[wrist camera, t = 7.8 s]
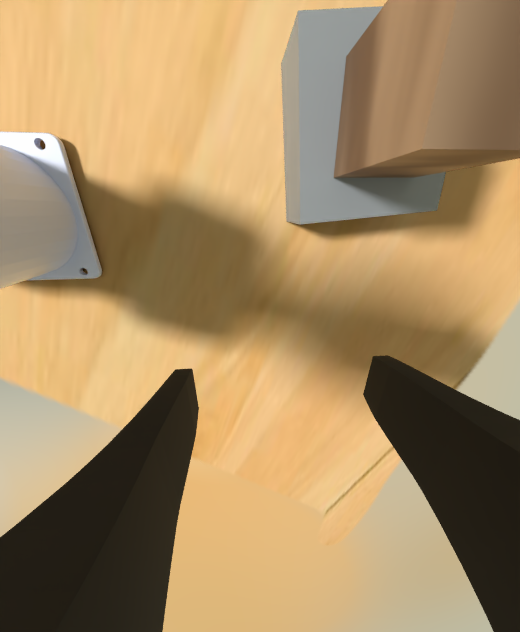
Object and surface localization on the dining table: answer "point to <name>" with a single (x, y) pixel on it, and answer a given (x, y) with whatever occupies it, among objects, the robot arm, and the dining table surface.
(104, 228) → the dining table surface
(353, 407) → the dining table surface
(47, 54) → the dining table surface
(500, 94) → the walnut block
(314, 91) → the grey base block
